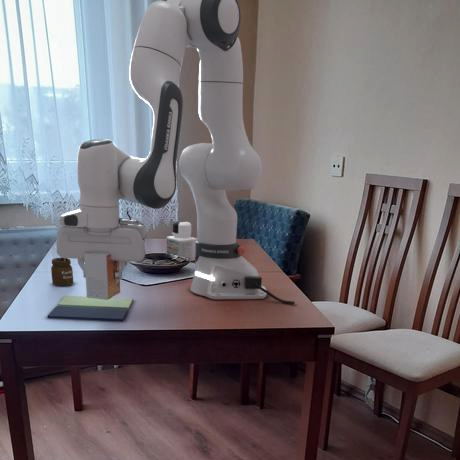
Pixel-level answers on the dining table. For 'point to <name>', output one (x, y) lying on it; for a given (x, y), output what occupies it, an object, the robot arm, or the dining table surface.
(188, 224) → the container
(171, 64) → the robot arm
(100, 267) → the small box
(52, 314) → the slate mat
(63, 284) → the utensil holder
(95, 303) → the sage mat
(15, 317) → the dining table surface
